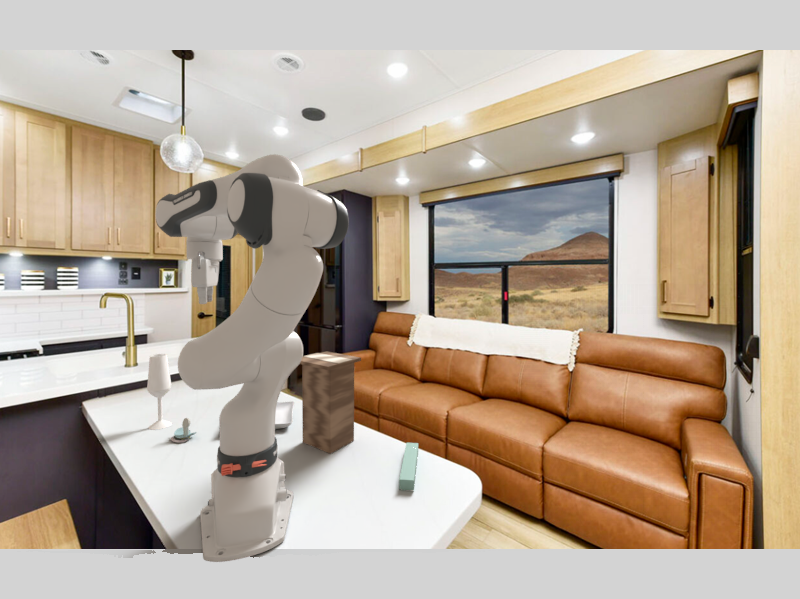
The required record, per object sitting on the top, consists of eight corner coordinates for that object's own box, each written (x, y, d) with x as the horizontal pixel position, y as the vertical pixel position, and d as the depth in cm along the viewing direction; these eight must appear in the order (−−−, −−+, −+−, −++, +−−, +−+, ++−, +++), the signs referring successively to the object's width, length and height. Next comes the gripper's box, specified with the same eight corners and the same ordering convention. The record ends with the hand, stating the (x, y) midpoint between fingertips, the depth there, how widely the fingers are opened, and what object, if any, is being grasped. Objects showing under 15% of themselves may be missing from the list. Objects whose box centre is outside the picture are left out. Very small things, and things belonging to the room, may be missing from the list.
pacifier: (179, 446, 104) (199, 437, 109) (178, 426, 103) (198, 418, 109) (166, 440, 108) (186, 432, 113) (164, 421, 107) (185, 413, 112)
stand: (360, 439, 109) (361, 356, 108) (327, 457, 98) (327, 366, 96) (326, 427, 118) (326, 350, 116) (293, 443, 106) (292, 358, 105)
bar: (413, 492, 83) (413, 480, 83) (399, 491, 84) (399, 479, 83) (418, 453, 102) (418, 443, 102) (406, 452, 102) (406, 442, 102)
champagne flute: (151, 422, 119) (149, 353, 118) (174, 420, 122) (172, 352, 120) (145, 431, 113) (143, 358, 112) (169, 428, 116) (167, 356, 114)
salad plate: (294, 408, 135) (294, 399, 135) (292, 432, 115) (292, 421, 115) (235, 413, 130) (235, 404, 130) (221, 438, 109) (221, 428, 109)
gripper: (212, 251, 89) (213, 305, 89) (222, 255, 108) (222, 300, 108) (183, 250, 86) (184, 305, 87) (198, 255, 105) (199, 300, 106)
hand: (206, 302), depth 98 cm, fingers open, 8 cm apart
